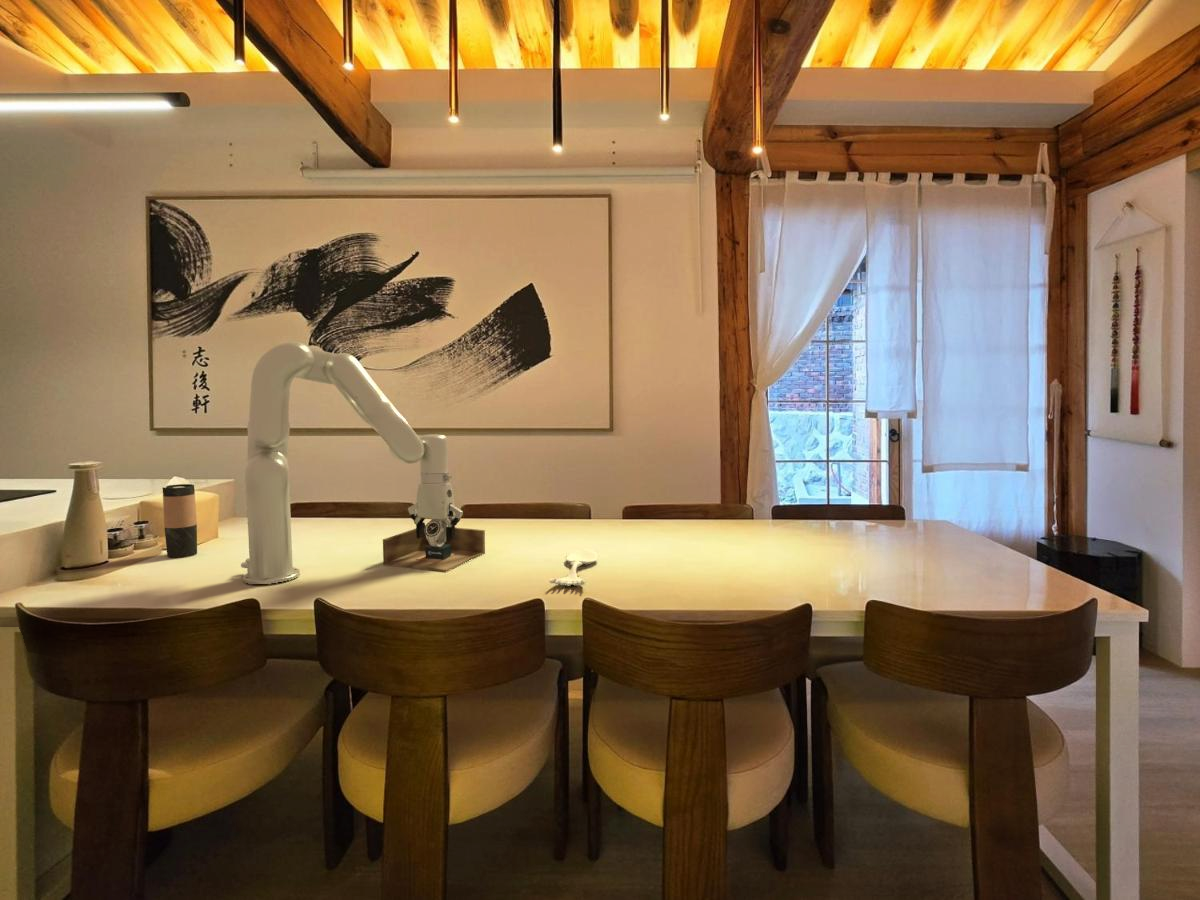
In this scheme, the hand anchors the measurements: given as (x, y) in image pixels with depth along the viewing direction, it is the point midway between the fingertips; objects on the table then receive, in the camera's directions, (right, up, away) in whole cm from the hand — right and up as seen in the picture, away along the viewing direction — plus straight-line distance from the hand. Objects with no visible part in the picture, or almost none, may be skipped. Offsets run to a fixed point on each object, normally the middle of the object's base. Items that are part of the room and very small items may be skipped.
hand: (435, 538), depth 175 cm
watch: (+1, -5, 0) cm, 5 cm away
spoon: (+40, -8, -12) cm, 43 cm away
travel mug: (-73, -5, +3) cm, 74 cm away
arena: (0, -6, +1) cm, 6 cm away
